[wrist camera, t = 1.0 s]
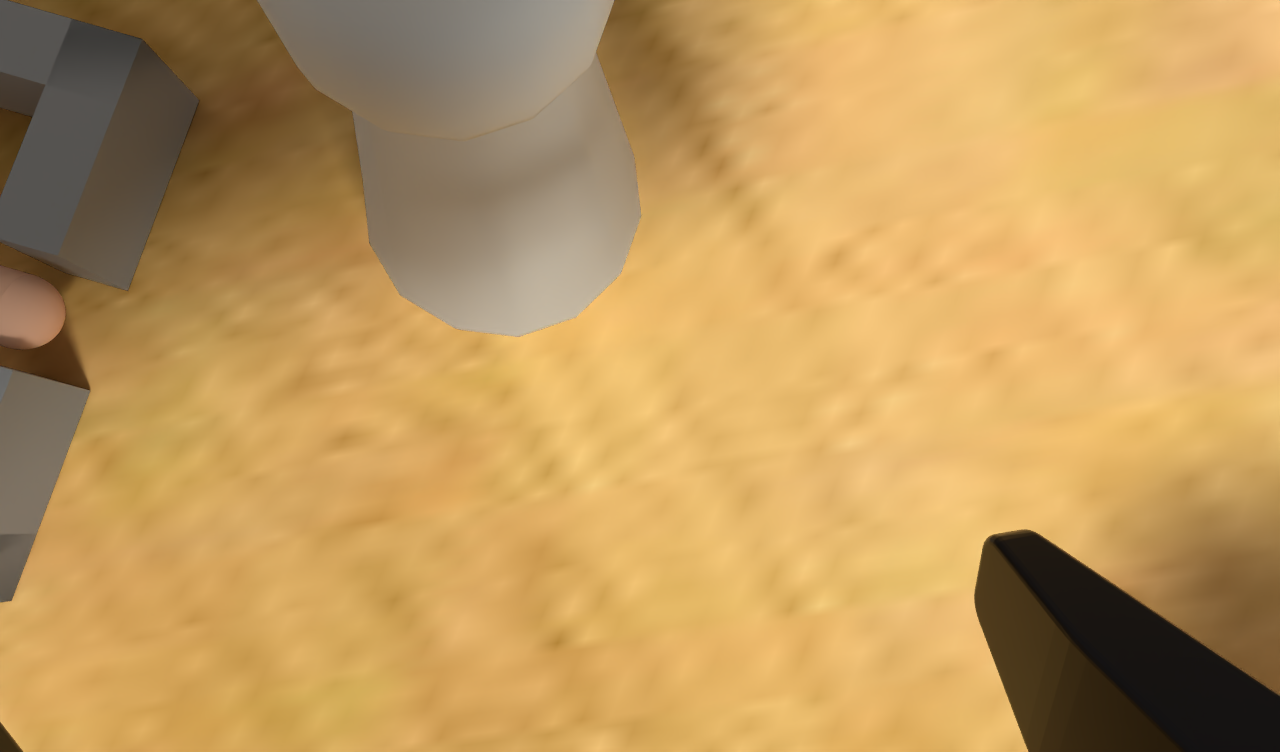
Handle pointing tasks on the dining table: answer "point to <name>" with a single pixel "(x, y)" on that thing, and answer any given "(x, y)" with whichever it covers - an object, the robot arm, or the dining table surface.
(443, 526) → the dining table surface
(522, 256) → the salt shaker
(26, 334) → the plunger
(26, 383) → the grey square frame
